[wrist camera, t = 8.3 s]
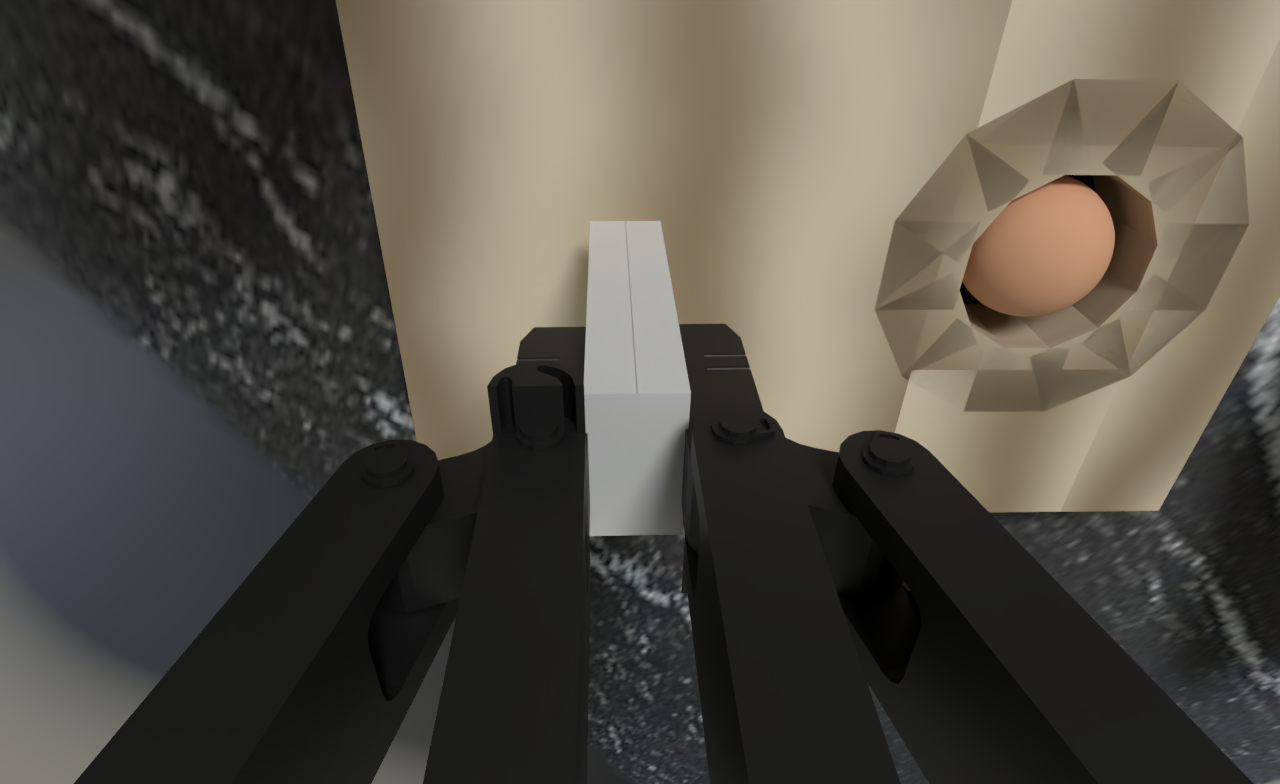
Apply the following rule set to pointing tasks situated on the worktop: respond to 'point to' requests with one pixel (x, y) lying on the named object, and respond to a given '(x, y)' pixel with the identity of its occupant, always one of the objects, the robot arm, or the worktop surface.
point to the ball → (1042, 250)
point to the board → (842, 209)
